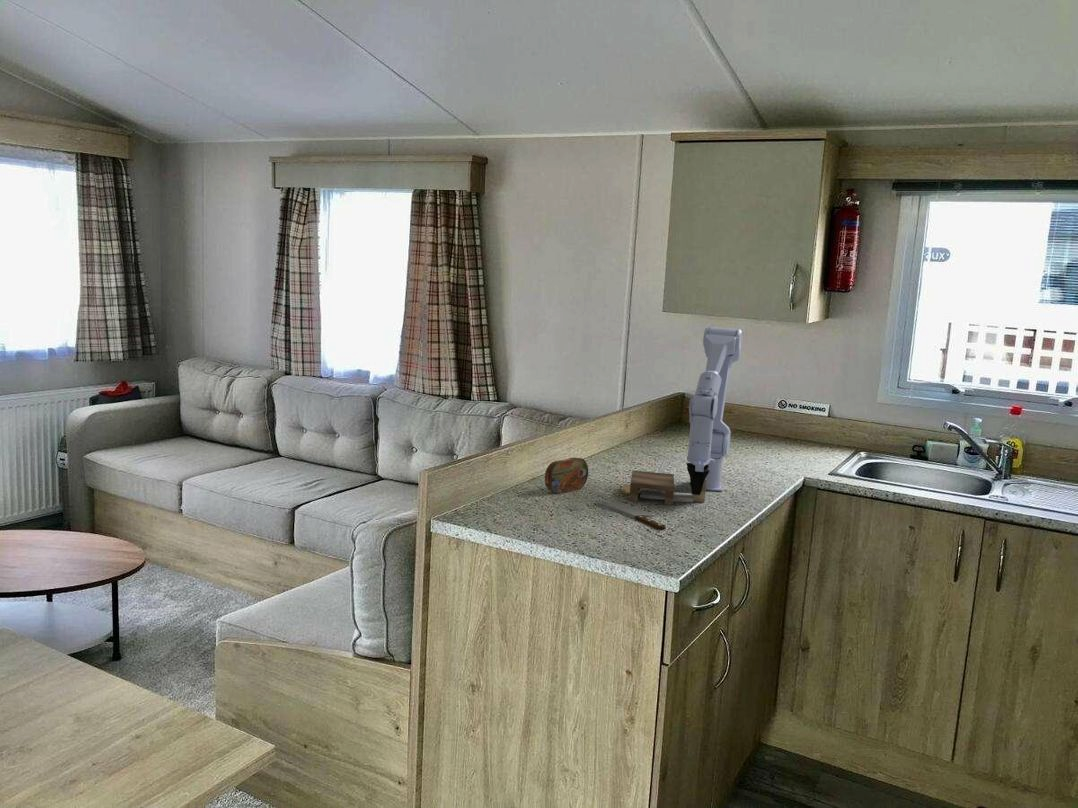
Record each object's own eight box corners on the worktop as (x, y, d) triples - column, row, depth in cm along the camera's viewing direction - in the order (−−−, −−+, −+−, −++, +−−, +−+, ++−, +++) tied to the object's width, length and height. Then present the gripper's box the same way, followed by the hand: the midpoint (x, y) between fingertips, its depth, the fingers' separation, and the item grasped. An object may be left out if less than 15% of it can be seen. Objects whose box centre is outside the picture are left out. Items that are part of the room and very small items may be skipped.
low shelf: (631, 487, 241) (632, 470, 241) (672, 491, 240) (673, 474, 239) (629, 500, 228) (630, 482, 227) (672, 504, 226) (674, 486, 226)
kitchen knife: (686, 525, 208) (653, 527, 202) (686, 529, 208) (652, 531, 203) (624, 499, 228) (592, 500, 223) (624, 503, 228) (592, 504, 223)
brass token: (621, 491, 237) (622, 483, 237) (640, 492, 237) (641, 485, 236) (620, 495, 232) (621, 488, 232) (639, 497, 232) (640, 490, 231)
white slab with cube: (640, 492, 237) (642, 469, 236) (703, 497, 235) (705, 475, 234) (640, 497, 231) (642, 475, 230) (704, 503, 229) (706, 480, 228)
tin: (550, 496, 228) (552, 463, 226) (541, 493, 230) (543, 461, 229) (588, 487, 239) (590, 456, 237) (579, 485, 241) (581, 454, 240)
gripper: (717, 448, 222) (712, 501, 224) (714, 437, 237) (709, 487, 239) (689, 445, 223) (684, 498, 225) (687, 435, 237) (683, 484, 240)
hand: (695, 492), depth 232 cm, fingers closed on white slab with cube, 3 cm apart
